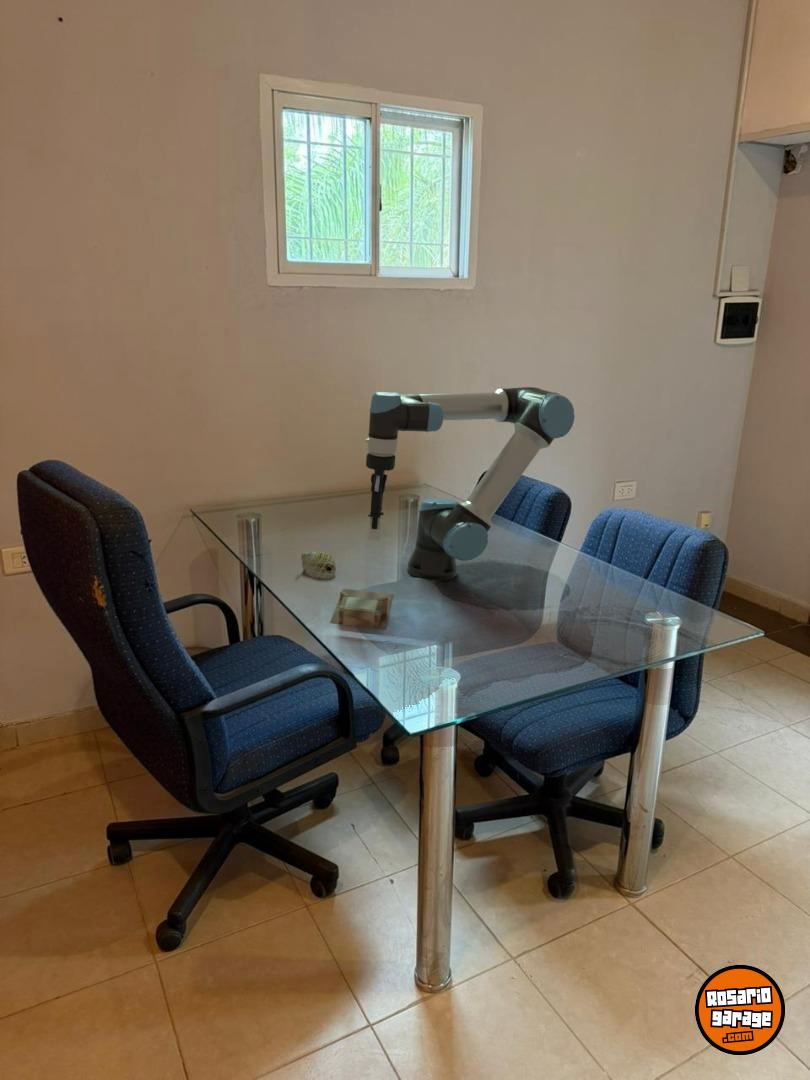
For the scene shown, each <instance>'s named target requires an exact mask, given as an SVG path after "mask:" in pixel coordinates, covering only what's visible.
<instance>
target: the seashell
mask: <svg viewBox="0 0 810 1080" xmlns="http://www.w3.org/2000/svg"><path fill="white" fill-rule="evenodd" d="M300 560H301V564H302V565H301V566H302V570H303V571H304V573H305V574H306V575H307V576H309V577H312V578H314V579H317V580H329V579H334V577H335V575H336V570H337V568H336V561H335V559H334V557H333V556H332V555H330V554H329V553H327V552H326V551H312V550H311V551H310V550H309V551H303V552H302V553H301V556H300Z"/></svg>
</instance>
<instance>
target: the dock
mask: <svg viewBox="0 0 810 1080" xmlns="http://www.w3.org/2000/svg"><path fill="white" fill-rule="evenodd" d="M393 599H394V594H393V593H392V594H391V593H383V592H376V591H375V592H374V591H369V590H367V591H366V590H361V589H360V590H359V589H358V590H357V589H349V588H342V591H340V594H339V599H338V600H337V604H336V606H335V609H334V611H333V613H332V616H331V619H330V622H329V623H330V624H335V625H344V626H351V627H352V626H353V627H361V628H367V629H368V628H369V629H375V630H383V631H384V630H385V631H386V630H387V627H388V623H389V618H390V614H391V608H392V604H393Z"/></svg>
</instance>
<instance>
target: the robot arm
mask: <svg viewBox="0 0 810 1080" xmlns="http://www.w3.org/2000/svg"><path fill="white" fill-rule="evenodd" d="M467 420H468V421H469V420H494V421H496V422H497V423H511V424H513V425H514V433H513V434H512V436H511V437H510V439H509V440H508V441H507V443H506V444H505V445H504V446H503V448H502V449H501V451H500V452H499V453H498V455H497V457H496V458H495V460H493V462H492V464H491V465H490V467H488V469H487V471H486V472H485V473H484V475H483V477H482V478H481V479H480V481H479V482H478V483H477V485H476V486H475V488H474V489H473V490H472V491H471V493H470V494H469V496H468V497H467V499H466V500H465V501H457V500H453V499H449V498H425V499H423V500H421V502H420V507H419V510H418V520H417V521H418V522H417V531H416V541H415V546H414V549H413V551H412V553H411V555H410V558H409V560H408V562H407V567H406V569H407V573H408V574H409V575H411V576H413V577H415V578H417V579H423V580H430V581H440V582H447V581H448V580H449V581H452V580H454V579H455V578H456V577H457V573H458V567H457V562H456V560H457V561H464V562H465V561H471V560H474V559H477V558H478V557H479V556H481V554H483V553H484V552H485V550H486V548H487V546H488V543H489V540H488V538H489V533H488V532H489V531H490V530H491V528H492V526H493V525H492V520H491V519H492V518H493V517H494V515H495V513H496V511H497V510H498V509H499V507H500V506H501V505H502V503H504V500H505V499H506V497H507V496H508V495H509V494H510V492H511V491H512V489H513V488H514V486H515V485H516V484H517V482H518V481H519V480H520V478H521V476H522V475H523V474H524V473H525V471H526V469H527V468H528V467H529V465H530V464H531V463H532V461H533V460H534V458H535V457H536V456H537V454H538V453H539V451H540V450H541V449H547V448H549V447H550V445H551V444H552V442H553V441H554V440H555V439H559V438H563V437H566V435H568V434H569V432H570V431H571V429H572V428H573V425H574V422H575V408H574V406H573V404H572V401H571V400H570V399H569V398H567V397H566V396H564V395H561V394H560V393H558V392H555V391H554V392H553V391H548V390H546V389H545V390H544V389H541V388H538V387H535V386H534V387H532V386H526V387H525V386H523V387H512V388H510V387H509V388H497V389H495V390H494V391H493V392H461V393H458V392H457V393H452V392H451V393H450V392H449V393H418V394H415V393H411V394H410V393H409V394H408V393H406V394H404V393H401V392H395V391H394V392H386V391H377V392H375V393H373V394H372V396H371V401H370V407H369V420H368V421H369V425H368V437H367V438H365V443H367V447H366V448H367V449H366V451H368V452H367V453H366V458H365V466H366V467H367V468H368V469H370V470H373V471H374V472H371V473H372V474H371V476H370V477H371V478H370V482H371V486H370V492H371V498H370V499H371V500H370V501H371V502H370V513H368V514H367V517H369V529H368V530H369V531H368V540H369V541H370V540H371V541H379V539H380V530H381V519H382V516H384V511H383V512H382V510H383V499H384V498H383V497H384V492H385V490H386V483H387V481H388V474H386V473H385V472H389V471H392V470H394V468H395V465H396V455H395V454H396V453H397V446H398V434H399V432H426V433H429V432H438V431H439V430H440V429H441V428H442V426H443V423H444V421H467ZM455 576H456V577H455ZM454 577H455V578H454ZM453 578H454V579H453ZM451 579H452V580H451ZM449 581H448V582H449Z"/></svg>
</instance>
